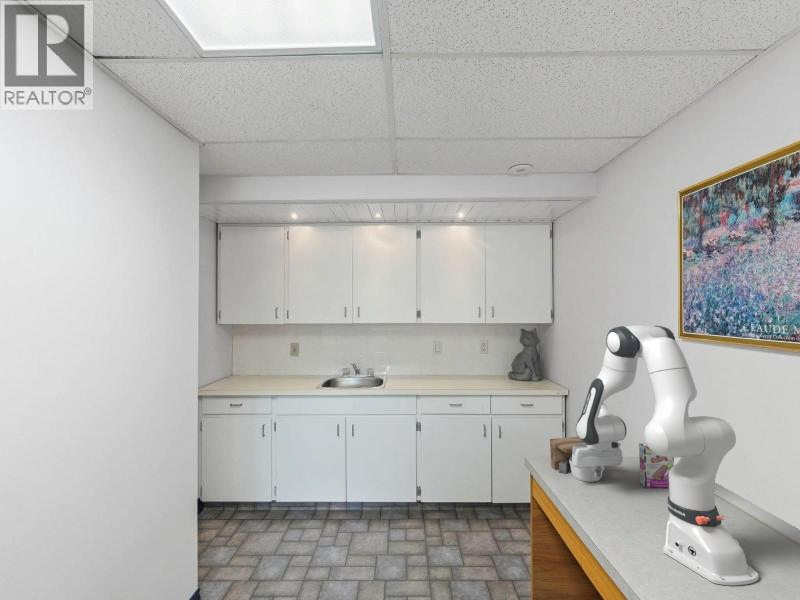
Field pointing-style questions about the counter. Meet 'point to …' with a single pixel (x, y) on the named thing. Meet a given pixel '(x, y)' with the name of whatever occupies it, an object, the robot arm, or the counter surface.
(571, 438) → the walnut shelf
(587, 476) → the ramekin
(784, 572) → the counter surface
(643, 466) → the candy bar box
